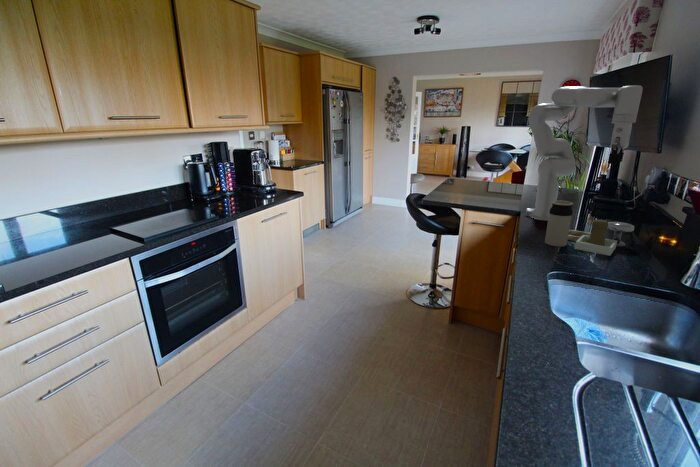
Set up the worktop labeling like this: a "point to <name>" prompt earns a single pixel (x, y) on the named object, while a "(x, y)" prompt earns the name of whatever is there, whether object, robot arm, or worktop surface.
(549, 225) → the travel mug
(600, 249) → the tray
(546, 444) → the worktop surface
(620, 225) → the grey pedestal stand
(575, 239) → the socket
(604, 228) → the brown rounded lump
